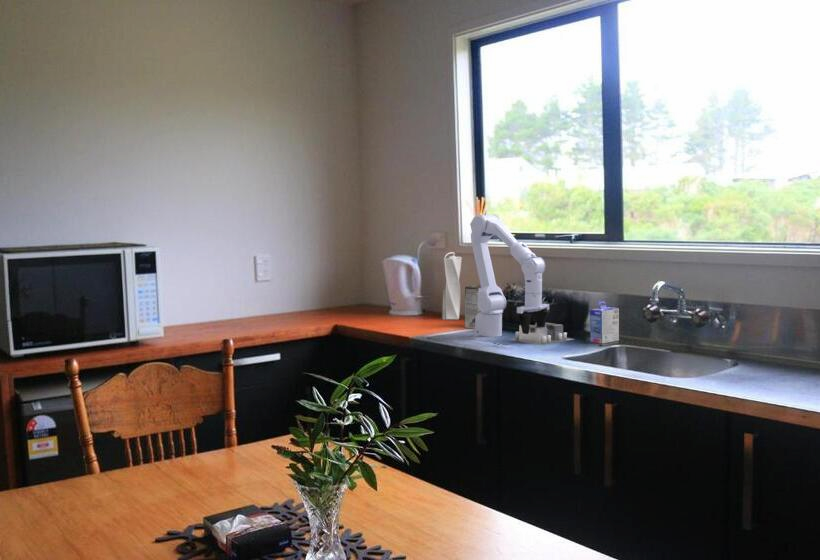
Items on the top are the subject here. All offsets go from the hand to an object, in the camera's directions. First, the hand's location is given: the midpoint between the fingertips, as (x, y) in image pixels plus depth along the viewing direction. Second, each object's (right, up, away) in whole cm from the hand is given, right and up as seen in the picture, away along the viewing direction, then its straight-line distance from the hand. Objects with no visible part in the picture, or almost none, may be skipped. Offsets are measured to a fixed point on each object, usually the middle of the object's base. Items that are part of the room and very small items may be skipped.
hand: (532, 332), depth 271 cm
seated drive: (+6, -2, +6) cm, 9 cm away
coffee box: (-16, -1, +38) cm, 41 cm away
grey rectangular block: (0, -3, 0) cm, 3 cm away
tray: (+3, -4, +3) cm, 6 cm away
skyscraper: (-25, +1, +62) cm, 67 cm away
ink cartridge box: (+24, -4, 0) cm, 25 cm away
